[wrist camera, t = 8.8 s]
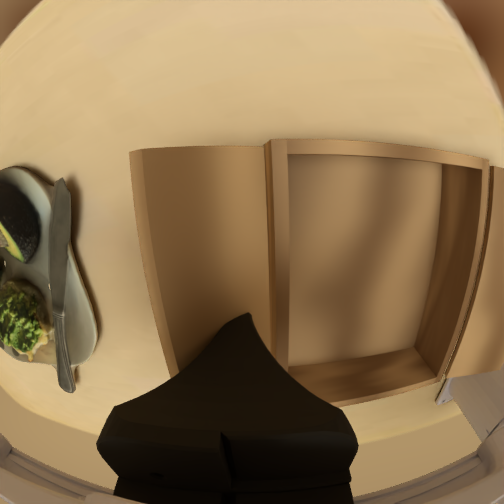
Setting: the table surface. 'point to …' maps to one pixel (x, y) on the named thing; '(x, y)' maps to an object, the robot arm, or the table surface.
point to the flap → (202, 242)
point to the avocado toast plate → (41, 277)
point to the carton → (369, 262)
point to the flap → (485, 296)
